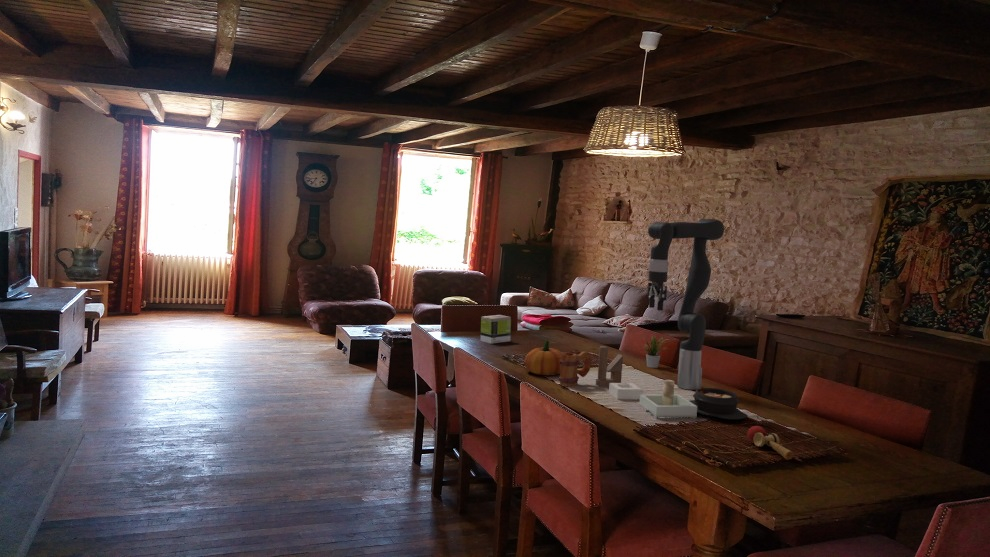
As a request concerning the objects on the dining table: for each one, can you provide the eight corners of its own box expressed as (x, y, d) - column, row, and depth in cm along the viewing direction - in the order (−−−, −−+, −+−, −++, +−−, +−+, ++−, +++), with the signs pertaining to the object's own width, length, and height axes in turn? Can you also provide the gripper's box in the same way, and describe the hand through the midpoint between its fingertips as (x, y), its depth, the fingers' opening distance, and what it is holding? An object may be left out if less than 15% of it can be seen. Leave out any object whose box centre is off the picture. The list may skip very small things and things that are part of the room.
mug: (561, 389, 275) (563, 354, 273) (554, 384, 283) (556, 350, 281) (593, 388, 279) (595, 353, 277) (585, 383, 287) (587, 349, 285)
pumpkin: (520, 375, 296) (522, 343, 295) (528, 366, 315) (529, 336, 313) (562, 379, 292) (564, 346, 290) (567, 370, 310) (569, 339, 309)
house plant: (675, 369, 321) (677, 337, 320) (651, 371, 316) (653, 338, 315) (657, 363, 335) (659, 332, 333) (635, 364, 329) (637, 333, 328)
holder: (631, 394, 270) (632, 383, 270) (640, 401, 261) (641, 389, 260) (608, 394, 269) (609, 383, 268) (617, 401, 259) (617, 389, 258)
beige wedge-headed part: (621, 387, 281) (623, 347, 280) (599, 389, 278) (602, 347, 276) (616, 385, 285) (619, 345, 283) (595, 386, 281) (597, 346, 279)
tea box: (499, 338, 385) (500, 314, 383) (510, 341, 377) (511, 316, 376) (479, 341, 375) (480, 315, 374) (490, 344, 367) (491, 318, 366)
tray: (677, 405, 257) (678, 394, 256) (696, 418, 241) (697, 406, 241) (639, 405, 254) (640, 394, 254) (655, 418, 238) (656, 406, 238)
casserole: (672, 408, 254) (674, 387, 253) (706, 403, 263) (707, 382, 262) (724, 426, 232) (726, 404, 232) (758, 420, 242) (760, 398, 241)
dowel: (669, 407, 250) (671, 379, 249) (674, 410, 246) (676, 382, 245) (660, 407, 249) (662, 379, 248) (664, 410, 245) (666, 382, 244)
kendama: (800, 462, 203) (760, 436, 220) (800, 444, 201) (761, 419, 218) (779, 468, 201) (741, 441, 218) (780, 450, 199) (741, 424, 216)
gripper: (674, 272, 263) (671, 311, 264) (659, 269, 277) (657, 306, 278) (656, 271, 262) (654, 311, 263) (643, 268, 276) (640, 306, 277)
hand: (655, 308), depth 271 cm, fingers open, 8 cm apart
